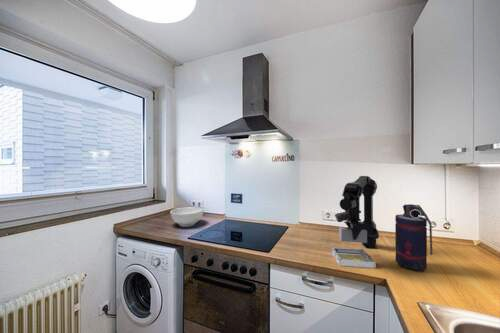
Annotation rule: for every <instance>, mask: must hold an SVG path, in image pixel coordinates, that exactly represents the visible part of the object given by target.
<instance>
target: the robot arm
mask: <svg viewBox="0 0 500 333" xmlns="http://www.w3.org/2000/svg"><path fill="white" fill-rule="evenodd" d="M377 190H378V184H377V182H376V181H375V180H374V179H372V177H370V176H368V175H360V176H359V177H358V178H357V179H356V180H354V181H352V182H347V183H346V184H345V185H344V188H343V190H342V191H343V192H342V194H341V196H342V197H343V198H342V199H340V201H339V207H340V208H341V210H343V212H342V211H341V212H338V213H335V214H334V216H335V218H336V221H337V222H338V223H342V222H343V223H344V224H345V225H346V226H347V228H351V229H352V235H353V240H356V239H357V237H358V235H359V234H360V232H361V231H362V230H366V231H367V243H361V244H362V245H361V246H363V247H364V248H366V249H378V247H377V239H380V235H379V231H378V228H377V224H376V222H375V220H374V210H373V209H374V195H375V194H376V193H377ZM362 196H363V221H362V218H360V214H361V213H362V211H361V210H360V209H361V208H360V198H361V197H362Z"/></svg>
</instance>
